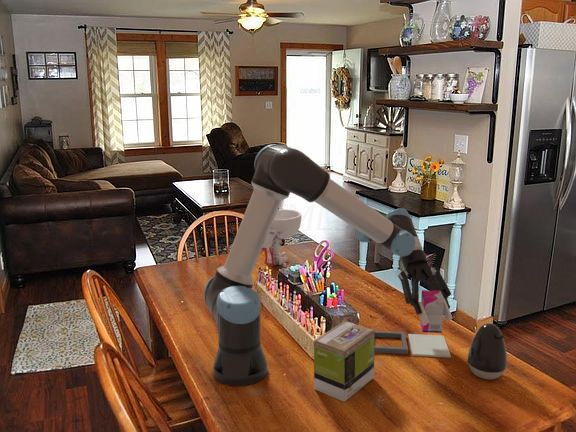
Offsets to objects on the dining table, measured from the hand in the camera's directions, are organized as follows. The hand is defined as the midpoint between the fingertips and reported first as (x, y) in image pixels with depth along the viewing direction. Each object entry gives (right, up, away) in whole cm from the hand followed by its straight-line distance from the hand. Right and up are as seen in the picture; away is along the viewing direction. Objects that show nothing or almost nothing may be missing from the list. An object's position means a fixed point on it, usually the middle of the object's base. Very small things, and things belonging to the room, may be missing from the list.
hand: (437, 321), depth 158 cm
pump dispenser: (+10, -13, -10) cm, 19 cm away
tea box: (-29, -14, -15) cm, 36 cm away
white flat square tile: (-1, -9, +5) cm, 10 cm away
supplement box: (-1, -3, +4) cm, 5 cm away
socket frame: (-14, -8, +7) cm, 17 cm away
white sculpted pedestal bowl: (-51, +10, +78) cm, 94 cm away
